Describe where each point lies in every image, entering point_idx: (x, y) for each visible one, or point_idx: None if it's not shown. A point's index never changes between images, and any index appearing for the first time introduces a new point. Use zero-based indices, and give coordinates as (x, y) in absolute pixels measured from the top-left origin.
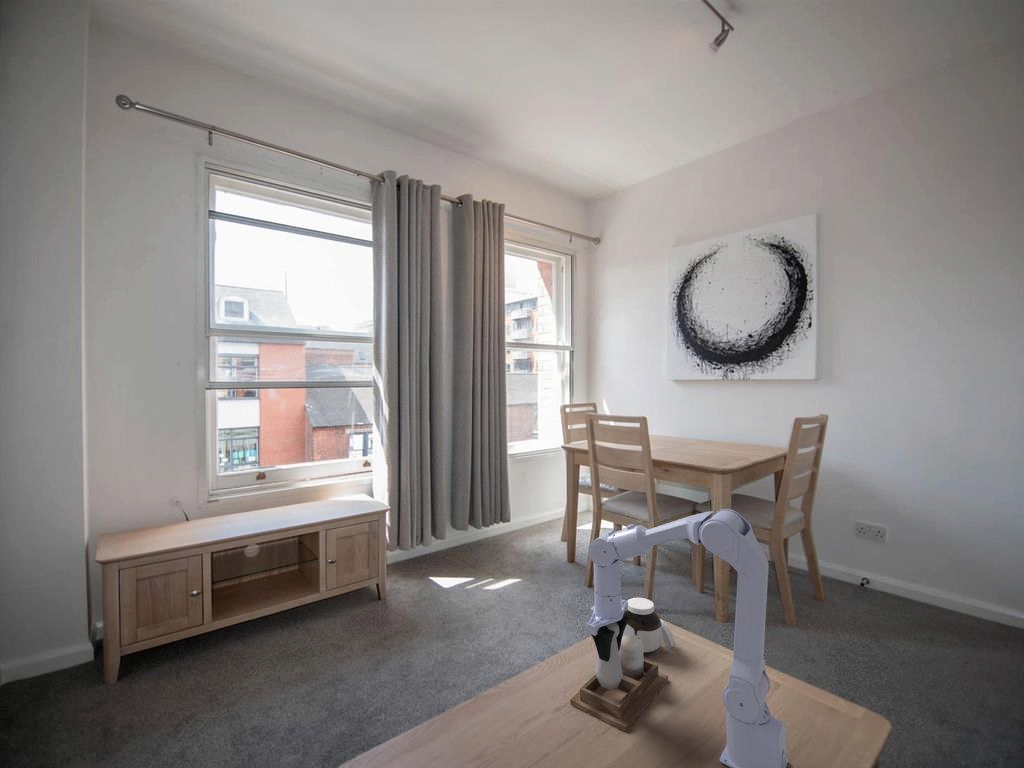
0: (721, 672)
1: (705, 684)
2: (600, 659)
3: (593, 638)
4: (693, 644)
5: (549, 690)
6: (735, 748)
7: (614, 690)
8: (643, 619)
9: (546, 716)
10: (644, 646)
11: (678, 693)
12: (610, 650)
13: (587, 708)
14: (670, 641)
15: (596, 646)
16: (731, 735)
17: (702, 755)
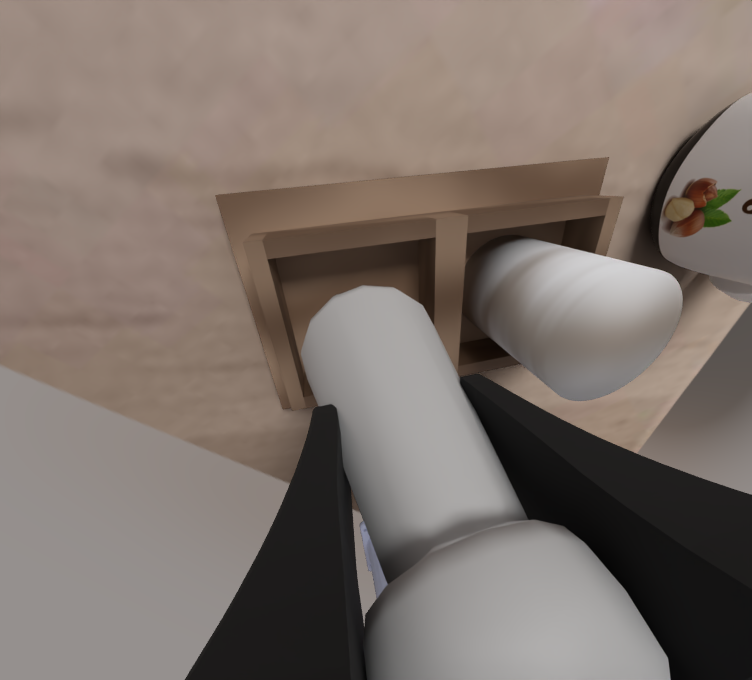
0: (625, 400)
1: (568, 403)
2: (326, 398)
3: (244, 590)
4: (738, 300)
5: (192, 10)
6: (374, 570)
7: (402, 290)
8: None
9: (53, 161)
10: (682, 243)
11: (507, 388)
12: (353, 529)
13: (243, 284)
14: (728, 293)
15: (294, 482)
16: (381, 589)
17: (355, 502)
